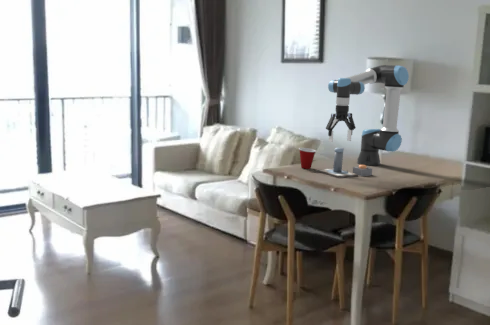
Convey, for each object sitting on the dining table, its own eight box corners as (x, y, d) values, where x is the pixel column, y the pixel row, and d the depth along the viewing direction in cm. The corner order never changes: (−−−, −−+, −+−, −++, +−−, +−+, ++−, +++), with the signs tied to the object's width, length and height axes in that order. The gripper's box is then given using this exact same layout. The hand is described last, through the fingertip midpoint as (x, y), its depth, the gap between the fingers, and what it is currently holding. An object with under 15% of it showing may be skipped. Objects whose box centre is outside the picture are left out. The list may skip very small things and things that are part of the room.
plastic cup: (314, 170, 333) (315, 150, 331) (296, 169, 335) (297, 149, 333) (315, 167, 344) (317, 148, 342) (298, 166, 346) (299, 147, 344)
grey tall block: (337, 170, 330) (339, 147, 327) (343, 172, 325) (345, 148, 323) (331, 171, 327) (332, 147, 325) (336, 172, 323) (338, 149, 320)
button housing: (362, 172, 334) (363, 166, 333) (371, 175, 327) (372, 168, 326) (352, 173, 330) (353, 166, 329) (361, 176, 323) (362, 169, 322)
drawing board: (336, 169, 339) (336, 167, 339) (358, 176, 322) (358, 174, 321) (316, 171, 331) (316, 169, 331) (337, 178, 314) (338, 175, 314)
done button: (362, 168, 331) (363, 164, 330) (367, 170, 327) (368, 165, 326) (357, 169, 329) (357, 164, 328) (362, 170, 325) (362, 166, 324)
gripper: (354, 104, 329) (352, 139, 332) (321, 104, 316) (318, 141, 320) (363, 105, 322) (360, 141, 326) (329, 105, 310) (326, 143, 314)
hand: (339, 141), depth 323 cm, fingers open, 13 cm apart
